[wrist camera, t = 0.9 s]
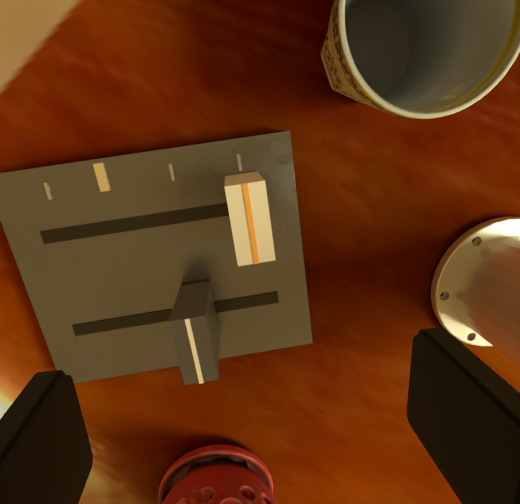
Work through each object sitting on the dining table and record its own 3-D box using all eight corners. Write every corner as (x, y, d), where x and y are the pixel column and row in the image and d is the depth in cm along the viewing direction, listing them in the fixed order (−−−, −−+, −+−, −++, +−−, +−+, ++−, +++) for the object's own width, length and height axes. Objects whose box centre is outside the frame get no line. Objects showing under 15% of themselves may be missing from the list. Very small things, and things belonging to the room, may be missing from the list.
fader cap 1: (209, 280, 29) (205, 316, 23) (220, 334, 31) (218, 380, 25) (180, 285, 29) (168, 322, 23) (192, 339, 30) (184, 386, 25)
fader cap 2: (257, 171, 27) (265, 180, 21) (266, 235, 28) (275, 260, 22) (225, 176, 27) (224, 186, 21) (235, 240, 28) (237, 266, 22)
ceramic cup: (325, 145, 29) (373, 149, 19) (278, 11, 26) (308, -64, 16) (478, 77, 28) (606, 46, 19) (449, -69, 25) (585, -195, 16)
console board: (285, 131, 28) (290, 130, 26) (307, 331, 34) (313, 344, 32) (0, 172, 27) (-18, 175, 25) (71, 371, 33) (61, 386, 31)
